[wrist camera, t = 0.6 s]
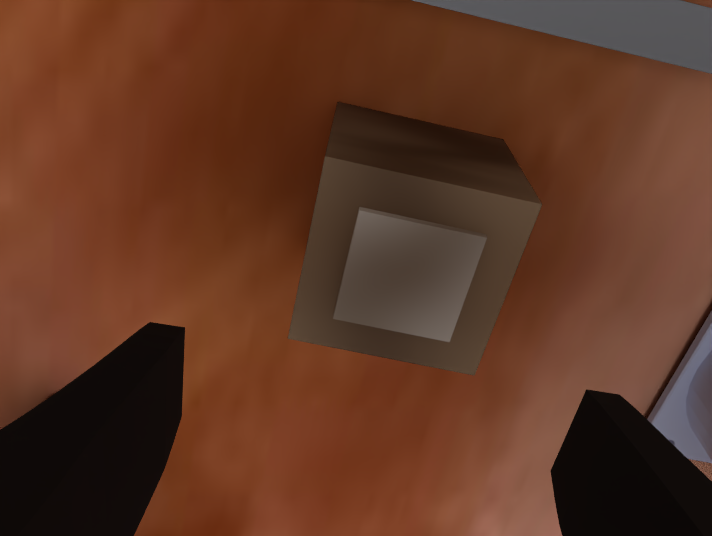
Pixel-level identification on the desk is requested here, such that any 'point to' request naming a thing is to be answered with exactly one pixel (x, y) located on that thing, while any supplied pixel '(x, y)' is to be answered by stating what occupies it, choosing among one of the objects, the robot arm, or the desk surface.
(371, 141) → the brown cube
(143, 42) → the desk surface
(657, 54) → the screen
